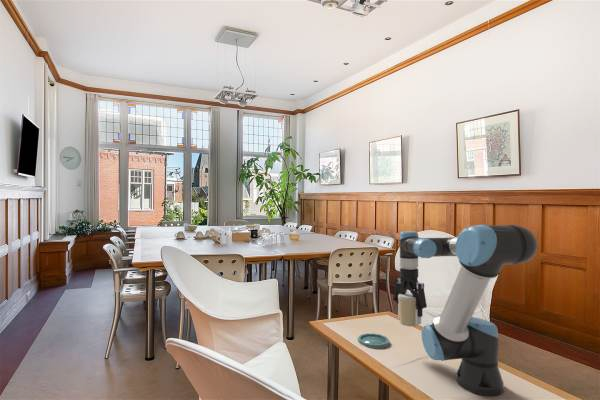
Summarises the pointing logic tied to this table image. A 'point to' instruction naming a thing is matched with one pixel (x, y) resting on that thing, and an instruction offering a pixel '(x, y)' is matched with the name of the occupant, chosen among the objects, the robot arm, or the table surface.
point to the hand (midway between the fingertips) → (409, 321)
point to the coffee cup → (407, 309)
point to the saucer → (373, 340)
